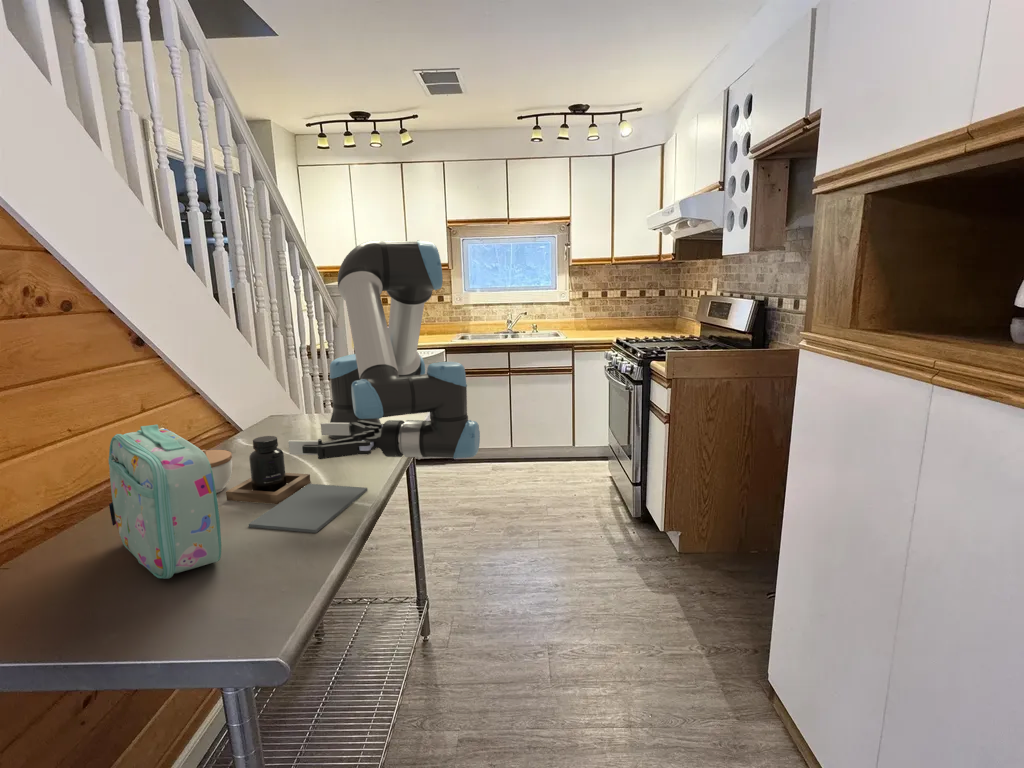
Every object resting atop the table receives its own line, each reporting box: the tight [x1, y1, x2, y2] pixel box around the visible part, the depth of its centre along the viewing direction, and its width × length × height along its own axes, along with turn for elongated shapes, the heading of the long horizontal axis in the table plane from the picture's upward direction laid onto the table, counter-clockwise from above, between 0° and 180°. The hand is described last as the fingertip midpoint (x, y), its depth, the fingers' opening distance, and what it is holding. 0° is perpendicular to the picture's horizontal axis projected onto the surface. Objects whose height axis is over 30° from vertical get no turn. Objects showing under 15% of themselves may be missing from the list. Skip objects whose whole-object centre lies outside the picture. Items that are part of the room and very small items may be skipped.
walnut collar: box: [225, 472, 312, 505], centre depth 117 cm, size 12×12×2 cm
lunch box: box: [108, 424, 222, 580], centre depth 89 cm, size 27×10×21 cm, turn 50°
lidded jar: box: [201, 449, 233, 494], centre depth 117 cm, size 11×11×9 cm
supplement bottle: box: [248, 435, 287, 492], centre depth 116 cm, size 7×7×12 cm
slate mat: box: [248, 483, 368, 534], centre depth 108 cm, size 20×14×1 cm
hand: (306, 437), depth 112 cm, fingers open, 13 cm apart
